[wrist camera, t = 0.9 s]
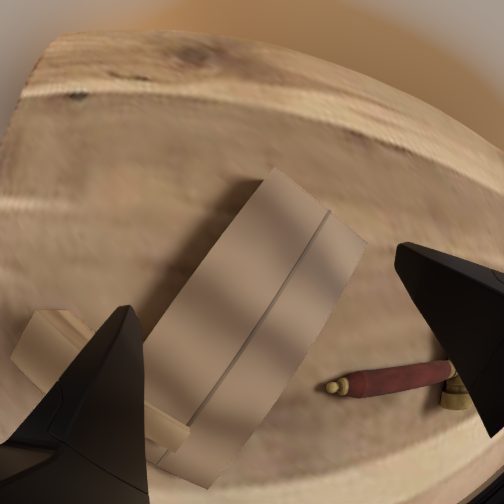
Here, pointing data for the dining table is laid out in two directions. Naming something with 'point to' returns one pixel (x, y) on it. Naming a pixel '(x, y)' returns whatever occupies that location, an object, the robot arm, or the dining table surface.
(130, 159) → the dining table surface
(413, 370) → the gavel
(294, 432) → the dining table surface
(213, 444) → the plank
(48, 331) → the block
